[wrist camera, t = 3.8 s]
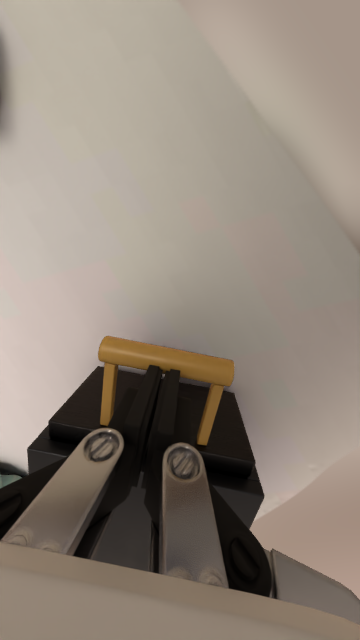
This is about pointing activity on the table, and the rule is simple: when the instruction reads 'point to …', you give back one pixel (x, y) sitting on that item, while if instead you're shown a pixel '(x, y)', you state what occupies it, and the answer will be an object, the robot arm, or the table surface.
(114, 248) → the table surface
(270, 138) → the table surface
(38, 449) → the cabinet
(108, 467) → the robot arm
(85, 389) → the drawer
